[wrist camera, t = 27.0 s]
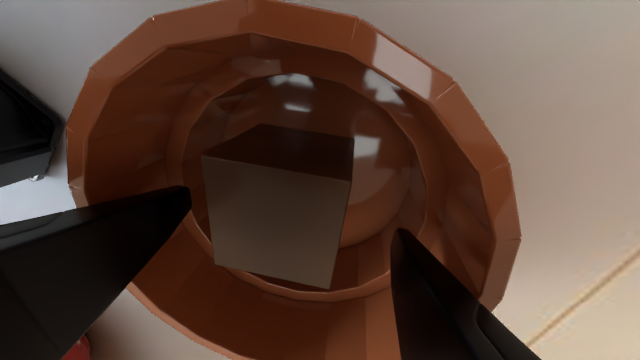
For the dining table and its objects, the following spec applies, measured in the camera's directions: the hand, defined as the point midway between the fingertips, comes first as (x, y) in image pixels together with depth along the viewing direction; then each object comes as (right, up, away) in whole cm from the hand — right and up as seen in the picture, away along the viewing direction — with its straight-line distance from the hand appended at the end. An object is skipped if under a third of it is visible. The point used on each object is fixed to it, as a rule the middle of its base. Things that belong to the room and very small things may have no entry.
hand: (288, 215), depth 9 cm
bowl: (+1, +2, +4) cm, 5 cm away
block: (0, +2, +4) cm, 4 cm away
